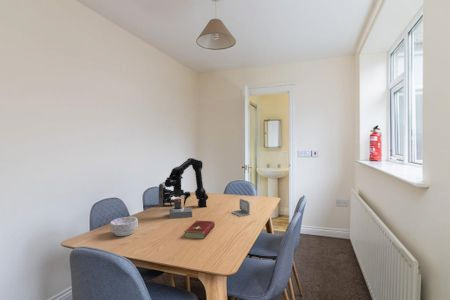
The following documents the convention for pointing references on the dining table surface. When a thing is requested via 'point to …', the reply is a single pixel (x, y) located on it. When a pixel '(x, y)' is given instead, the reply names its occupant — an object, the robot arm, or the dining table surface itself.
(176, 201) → the lens
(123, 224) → the speckled grey bowl
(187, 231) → the hardcover book
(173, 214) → the octagon ring plate
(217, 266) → the dining table surface
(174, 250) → the dining table surface
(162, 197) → the vintage camera
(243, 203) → the handheld gaming console
